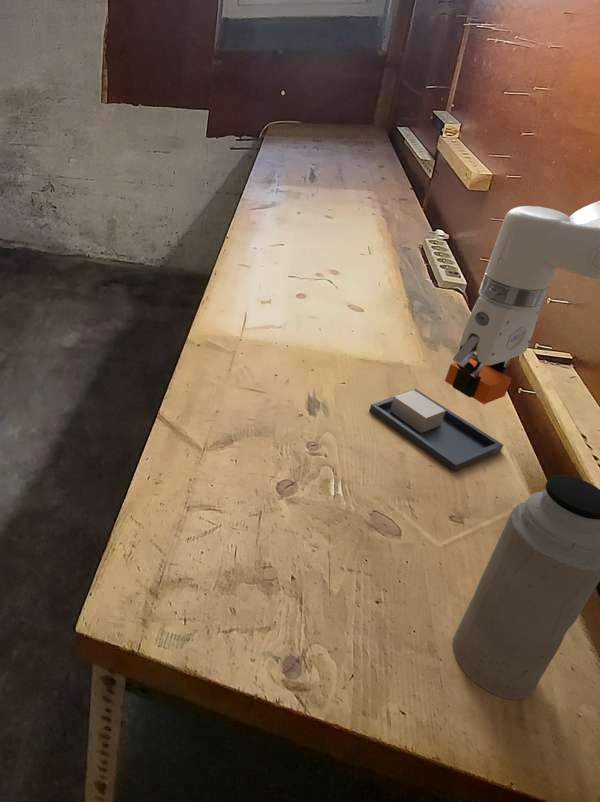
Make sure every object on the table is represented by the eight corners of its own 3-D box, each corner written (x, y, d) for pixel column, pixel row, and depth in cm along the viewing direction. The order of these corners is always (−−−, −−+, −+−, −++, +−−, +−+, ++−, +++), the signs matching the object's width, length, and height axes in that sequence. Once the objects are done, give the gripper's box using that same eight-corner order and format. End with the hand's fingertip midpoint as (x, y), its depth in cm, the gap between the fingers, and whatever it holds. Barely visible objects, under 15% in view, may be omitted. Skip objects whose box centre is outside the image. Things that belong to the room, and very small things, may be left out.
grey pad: (408, 404, 107) (413, 389, 106) (440, 425, 102) (446, 410, 100) (389, 411, 106) (393, 396, 104) (421, 433, 100) (426, 418, 99)
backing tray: (412, 396, 110) (415, 388, 109) (500, 453, 96) (503, 444, 95) (368, 412, 106) (370, 404, 105) (452, 474, 92) (456, 465, 91)
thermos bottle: (530, 649, 68) (626, 480, 55) (538, 715, 62) (648, 541, 49) (451, 616, 71) (525, 451, 59) (452, 675, 65) (534, 504, 53)
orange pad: (465, 373, 95) (471, 356, 93) (504, 396, 90) (512, 378, 88) (444, 381, 93) (450, 363, 92) (483, 404, 88) (490, 386, 86)
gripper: (499, 313, 77) (461, 416, 85) (576, 288, 83) (533, 387, 91) (448, 290, 84) (416, 387, 92) (522, 268, 89) (486, 362, 97)
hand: (475, 386), depth 91 cm, fingers closed on orange pad, 5 cm apart
